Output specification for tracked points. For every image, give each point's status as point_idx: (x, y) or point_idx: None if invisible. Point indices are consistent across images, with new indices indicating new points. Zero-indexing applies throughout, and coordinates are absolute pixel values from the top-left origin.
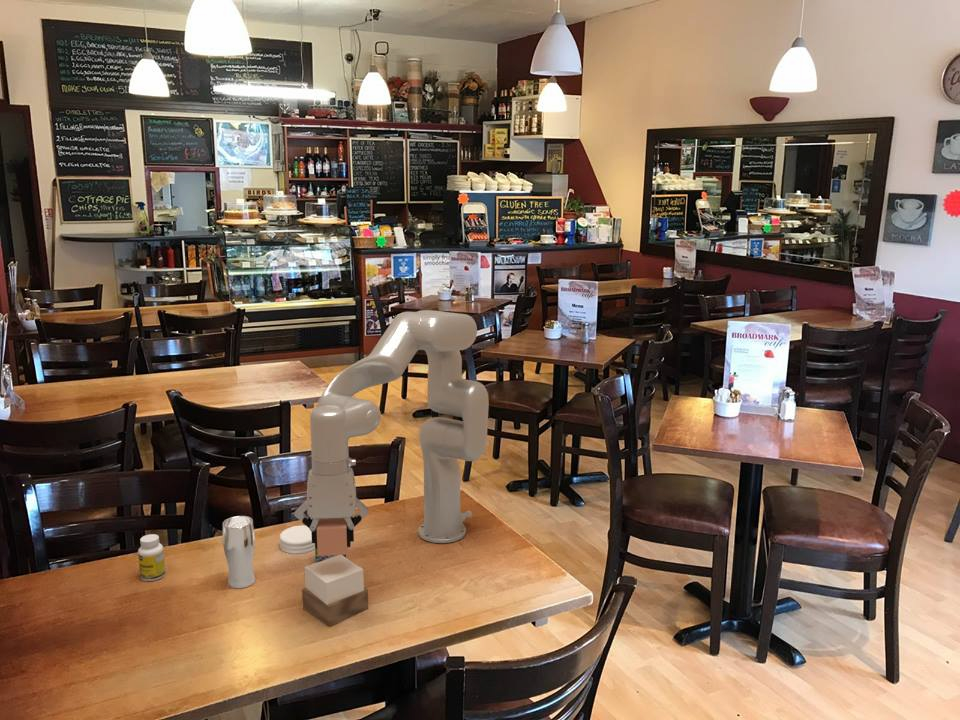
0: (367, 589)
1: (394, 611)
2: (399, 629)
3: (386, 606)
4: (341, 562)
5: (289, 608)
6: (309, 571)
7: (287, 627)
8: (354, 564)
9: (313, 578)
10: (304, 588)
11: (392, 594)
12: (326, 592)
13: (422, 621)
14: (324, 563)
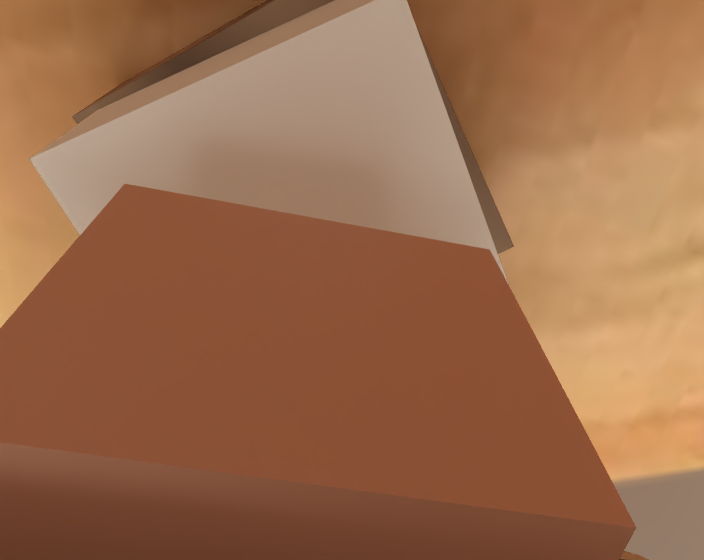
0: (512, 246)
1: (605, 258)
2: (569, 399)
3: (585, 201)
4: (376, 170)
5: (32, 58)
6: (83, 229)
7: (45, 251)
8: (480, 238)
9: None
10: (89, 115)
11: (667, 82)
12: None
13: (691, 370)
14: (217, 143)
